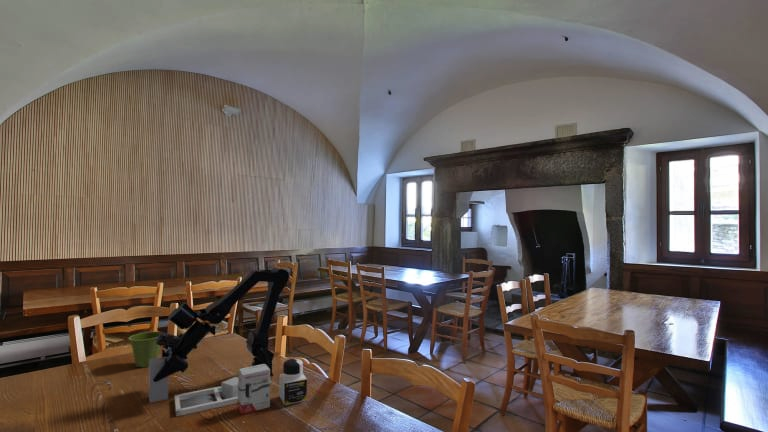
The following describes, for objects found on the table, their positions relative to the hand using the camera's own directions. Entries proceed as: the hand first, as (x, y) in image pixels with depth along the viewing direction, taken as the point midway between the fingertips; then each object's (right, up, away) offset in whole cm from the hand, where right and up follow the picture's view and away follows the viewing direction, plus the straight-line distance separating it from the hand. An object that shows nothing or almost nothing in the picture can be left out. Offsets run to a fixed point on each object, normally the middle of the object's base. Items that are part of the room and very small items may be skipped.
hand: (153, 378), depth 124 cm
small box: (+24, -7, +3) cm, 26 cm away
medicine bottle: (+44, -7, +1) cm, 44 cm away
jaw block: (+1, -7, +1) cm, 7 cm away
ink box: (+34, -7, -5) cm, 35 cm away
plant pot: (-20, -7, +29) cm, 36 cm away
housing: (+20, -7, 0) cm, 21 cm away
